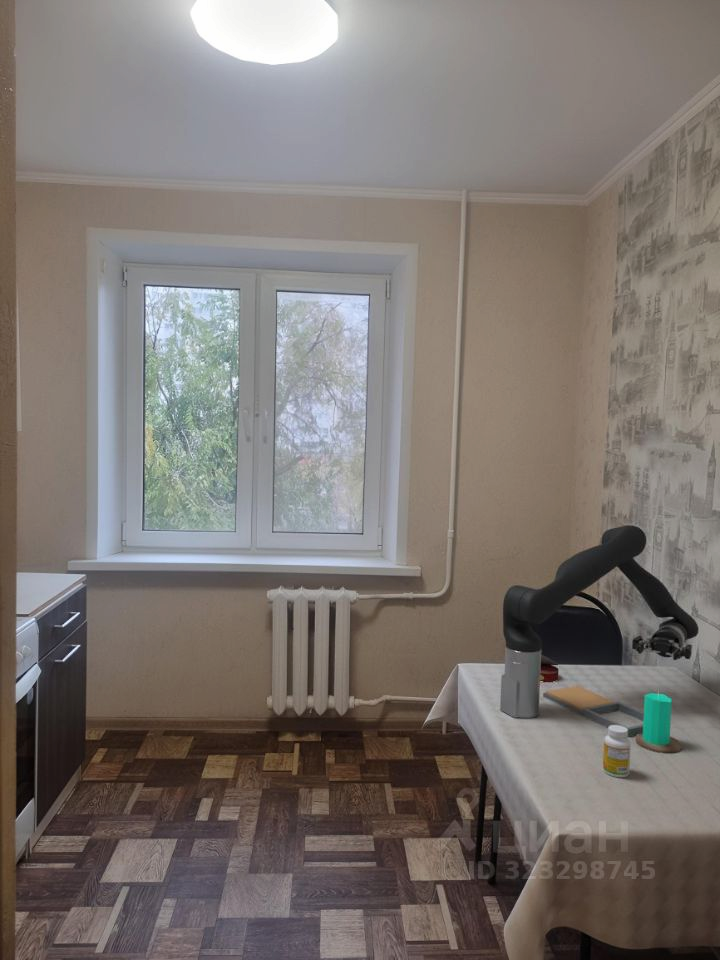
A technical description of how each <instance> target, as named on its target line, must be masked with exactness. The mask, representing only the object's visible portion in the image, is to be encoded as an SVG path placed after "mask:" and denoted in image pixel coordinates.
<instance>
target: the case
mask: <svg viewBox="0 0 720 960" xmlns="http://www.w3.org/2000/svg"><path fill="white" fill-rule="evenodd" d="M542 696H543V698H545V699H547V700H549V701H551V702H554V703H555V704H558V705H560V706H562V707H564V708H566V709H568V710H570V711H573V712H574V713H577V714H578V715H581V716H583V717H585V718H587V719H589V720H591V721H594V722H596V723H597V724H600V725H601V726H604V727H605V728H608V727H609V726H611V725H619V726H623V727H625V728H627V729H628V736H627V737H626V738H629V736H630V737H633V735H634V736H636V735H637V734H639V733H643V723H642V724H639V725H638V724H637V725H633V726H628V727H627V726H626V725H623V724H621V723H619V722H616V721H615V720H612V719H610V718H608V717H606V716H604V715H601V714H605V713H611V712H614V711H619V712H622V713H624V714H626V715H629V716H631V717H633V718H635V719H638V720H640V721H642V722H643V720H644V711H641V710H639V709H637V708H634V707H632V706H629V705H627V704H625V703H622V702H620V701H614V700H612V699H609V698H608V697H605V696H602V695H600V694H598V693H595V692H593V691H592V690H588V689H586V688H584V687H581V686H579V685H573V686H569V687H562V688H557V689H552V690H546V691H545V692H543V694H542Z"/></svg>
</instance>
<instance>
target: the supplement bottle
mask: <svg viewBox="0 0 720 960" xmlns="http://www.w3.org/2000/svg"><path fill="white" fill-rule="evenodd" d="M623 726H624V725H623ZM623 726H619V725H611V726H609V727H607V730H608V731H607V735H606V736H605V737H604V740H603V741H604V742H603V757H602V758H603V759H602V761H603V762H602V769H603V772H604V773H605V774H607V775H608V776H610V777H615V778H626V777H628V776H629V775H630V766H631V764H630V763H631V740H630V739H629V737H627V736H628V729H627V728H628V727H627V728H625V727H626V726H625V727H623Z"/></svg>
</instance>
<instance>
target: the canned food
mask: <svg viewBox="0 0 720 960" xmlns="http://www.w3.org/2000/svg"><path fill="white" fill-rule="evenodd" d="M558 665H559V663H558V662H556V661H555V660H553V659H551V658H549V657H548V656H544V654H541V670H540V681H543V682H542V683H546V682H548V683H554V682H553V681H555V682H557V681H558V680H559V668H558V667H557V666H558ZM556 680H557V681H556Z"/></svg>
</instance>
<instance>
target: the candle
mask: <svg viewBox="0 0 720 960" xmlns="http://www.w3.org/2000/svg"><path fill="white" fill-rule="evenodd" d="M643 703H644V705H643V712H644V720H643V721H642V722H643V723H642V724H643V739H644V740H645V741H646V742H648V743H650V744H655V745H668V744H669V742H670V737H671V725H672V723H671V721H672V703H673V700H672V698H671V697H669V696H667V695H665V694H663V693H660V692H659V690H658V691H657V693H656V692H655V693H647V694H644V701H643Z"/></svg>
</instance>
